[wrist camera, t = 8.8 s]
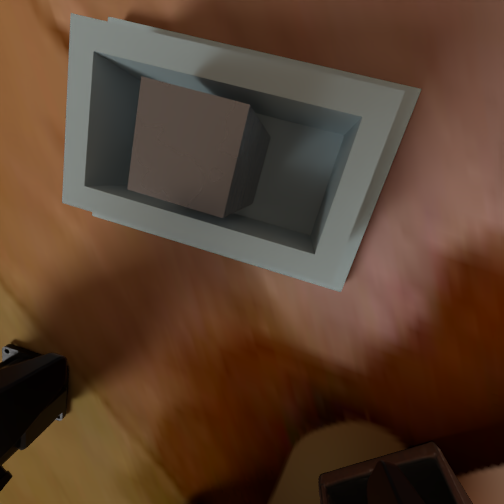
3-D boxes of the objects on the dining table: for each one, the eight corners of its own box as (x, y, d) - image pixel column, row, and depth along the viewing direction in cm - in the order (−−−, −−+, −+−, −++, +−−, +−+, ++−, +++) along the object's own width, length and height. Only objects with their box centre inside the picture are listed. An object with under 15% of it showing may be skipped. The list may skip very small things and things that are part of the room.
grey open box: (102, 214, 20) (31, 225, 15) (119, 26, 16) (34, -47, 11) (338, 286, 18) (354, 328, 13) (413, 95, 15) (476, 47, 10)
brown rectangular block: (194, 186, 17) (127, 189, 10) (207, 120, 16) (141, 76, 9) (253, 203, 17) (222, 218, 10) (270, 137, 16) (249, 104, 9)
